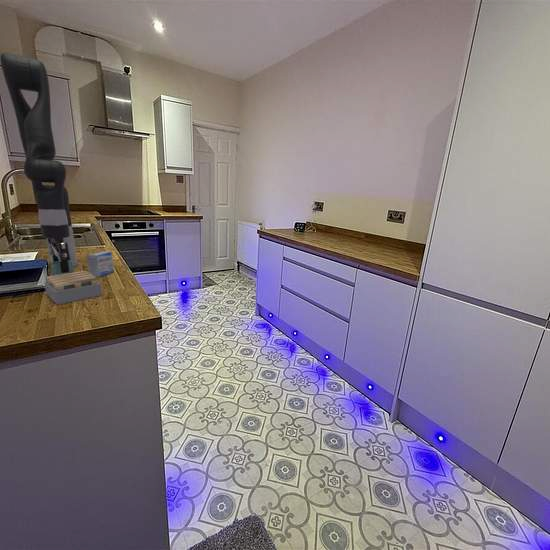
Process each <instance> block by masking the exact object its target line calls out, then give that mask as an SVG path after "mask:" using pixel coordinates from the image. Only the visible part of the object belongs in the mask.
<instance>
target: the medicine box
mask: <svg viewBox="0 0 550 550" xmlns="http://www.w3.org/2000/svg"><path fill="white" fill-rule="evenodd" d="M112 253H113V252H112V251H106V250H102V251H98V252H95V253H90V254H87V263H88V270H89V273H90V274H92V275H94V276H95V277H97V278H100V277H103V275H104V276H106V274H107V275H109V273H110V274H112V273H114V272H115V271H114V270H115V269H114V262H113V254H112Z"/></svg>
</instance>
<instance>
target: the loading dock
mask: <svg viewBox="0 0 550 550" xmlns="http://www.w3.org/2000/svg"><path fill="white" fill-rule="evenodd" d="M44 286H45V287H44V288H45V294H46V295H47V296H48V297H49V298H50V300H52V301H53V302H54V304H56V305H57V306H58V305H63V304H67V303H68V304H69V303H73V302H77V301H78V302H79V301H81V300H82V301H83V300H86V299H92V298H96V297H101V296H102V295H103V293H102V287H101V283H100V282H98V281H97V284H94V285H91V284H90V283H88V282H83V283H81V287H78V288H75V287H73V286H72V285H66V286H63V287H64V290H61V291H57V290H56V289H54V288H53V287H52V286H51V285H50V284H49V283H48V282H47V281H46V282H45V281H44Z"/></svg>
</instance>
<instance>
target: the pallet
mask: <svg viewBox="0 0 550 550" xmlns="http://www.w3.org/2000/svg"><path fill="white" fill-rule="evenodd" d="M73 272H74V271H73ZM45 280H46V282H48V283H49V284H50V285H51V286H52V287H53V288H54V289H56V290H57V291H61V290H64V287H63V286H66V285H72V286H73V287H75V288H78V287H81V283H83V282H88V283H90V284H91V285H94V284H97V282H98V277H96V276H94V275H92V274H90V272H88V271H86V270H82V271H75V272H74V273H67V274H60V275H54V276H53V275H50V276H49V275H48V276H45Z"/></svg>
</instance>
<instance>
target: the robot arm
mask: <svg viewBox="0 0 550 550" xmlns="http://www.w3.org/2000/svg"><path fill="white" fill-rule="evenodd" d="M0 66H1V70H2V73H3V78H4V80H5V84H6V87H7V90H8V93H9V96H10V99H11V103H12V106H13V109H14V114H15V117H16V122H17V127H18V132H19V136H20V140H21V144H22V148H23V152H24V154H25V161H24V165H23V171H24V174H25V177H26V178H27V179H28V180H30V181H31V186H32V191H33V195H34V200H35V204H36V206H37V209H38V221H39V226H40V231H41V237H42V238H44V239H46V242H47V243H46V244H47V248H48V254H49V260H50V263H51V262H55V261H59V262H60V268H61V272H62V273H66V272H69V265H68V261H70V262H72V266H73V268H74V267H76V266H78V258H77V251H76V244H75V243H76V242H75V238H74V231H73V225H72V219H71V211H70V210H71V209H70V199H69V198H70V197H69V192H68V189H67V188H66V186H65V182H66V178H67V169H66V166H65V165H64V164H63V163H62V161H59V160H56V159H55V157H56V152H57V151H56V146H55V141H54V133H53V130H52V119H51V118H52V117H51V116H52V115H51V109H52V108H51V93H50V84H49V83H50V82H49V77H48V72H47V69H46V66H45V64H44V63H43V62H42V61H41V60H39V59H36V58H33V57H28V56H23V55H17V54H13V53H10V52H9V53H8V52H2V53H1V54H0ZM22 91H29V92H36V93H37V98H36V101H35V103H34V104H33V106H32V108H31V106H30V105H29V104H28V102H27V99H25V97H24V95H23V93H22ZM43 183H47V184H43ZM49 183H51V184H50V185H49ZM52 183H53V184H54V185H52Z"/></svg>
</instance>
